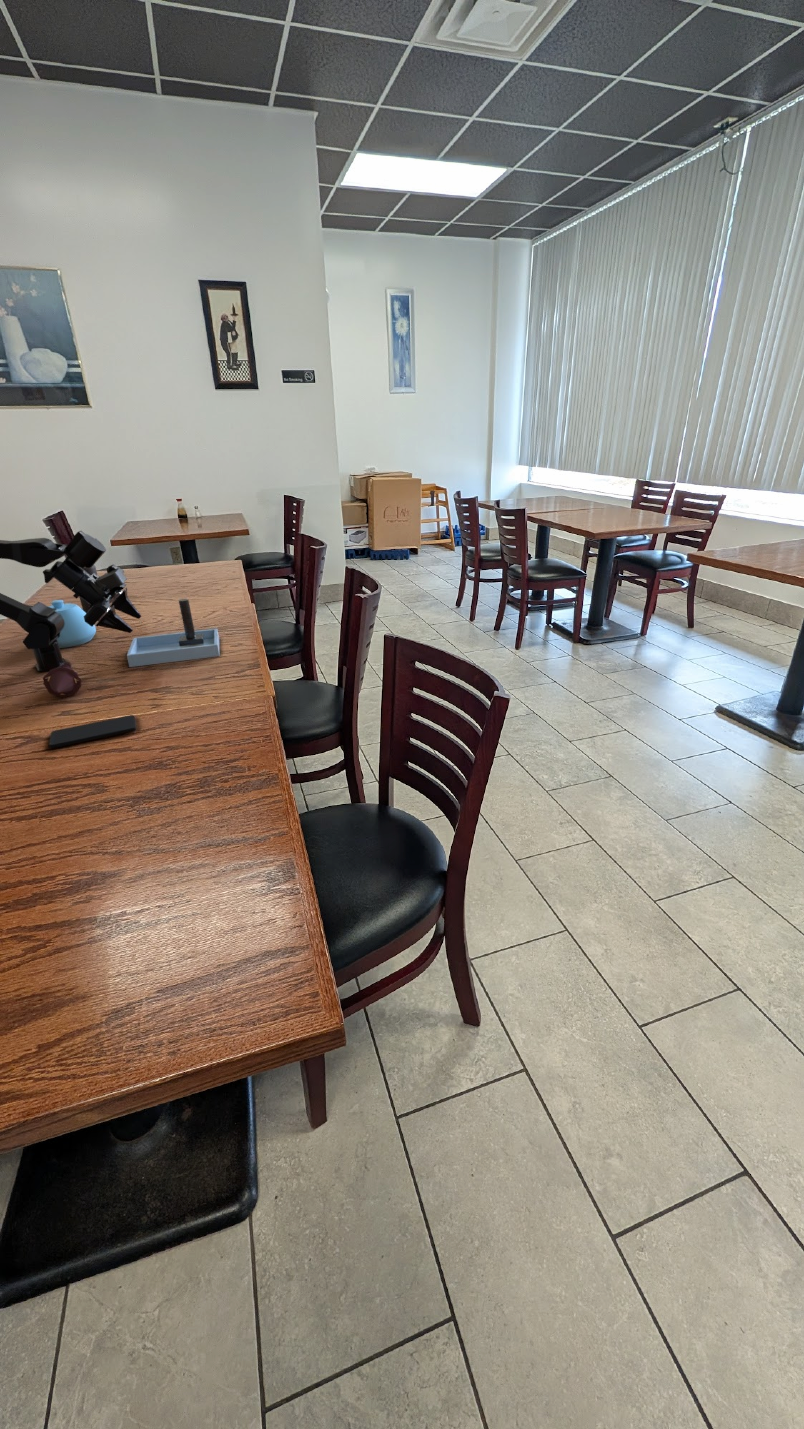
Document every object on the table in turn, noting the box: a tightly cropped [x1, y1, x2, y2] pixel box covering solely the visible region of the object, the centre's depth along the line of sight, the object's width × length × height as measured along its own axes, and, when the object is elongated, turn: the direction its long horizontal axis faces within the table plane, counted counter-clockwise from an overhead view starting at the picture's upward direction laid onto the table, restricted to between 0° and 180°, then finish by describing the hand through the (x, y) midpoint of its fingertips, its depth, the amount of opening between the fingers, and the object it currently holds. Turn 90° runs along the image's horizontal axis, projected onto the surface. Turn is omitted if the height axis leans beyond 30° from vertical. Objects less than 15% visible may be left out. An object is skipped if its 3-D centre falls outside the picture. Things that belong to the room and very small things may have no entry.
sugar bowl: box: [48, 599, 97, 649], centre depth 163 cm, size 15×15×12 cm
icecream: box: [42, 661, 82, 698], centre depth 129 cm, size 7×7×15 cm
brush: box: [178, 598, 204, 648], centre depth 152 cm, size 6×4×13 cm
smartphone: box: [48, 714, 137, 749], centre depth 112 cm, size 7×1×15 cm
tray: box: [126, 628, 220, 668], centre depth 153 cm, size 22×15×3 cm
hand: (136, 624), depth 148 cm, fingers open, 9 cm apart
